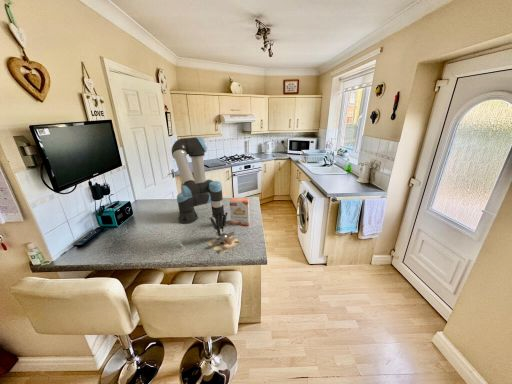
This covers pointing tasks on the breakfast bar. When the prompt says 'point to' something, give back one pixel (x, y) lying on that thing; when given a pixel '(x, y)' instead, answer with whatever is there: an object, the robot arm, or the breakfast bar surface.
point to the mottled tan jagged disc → (224, 247)
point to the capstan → (223, 238)
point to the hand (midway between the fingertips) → (220, 236)
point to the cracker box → (239, 211)
